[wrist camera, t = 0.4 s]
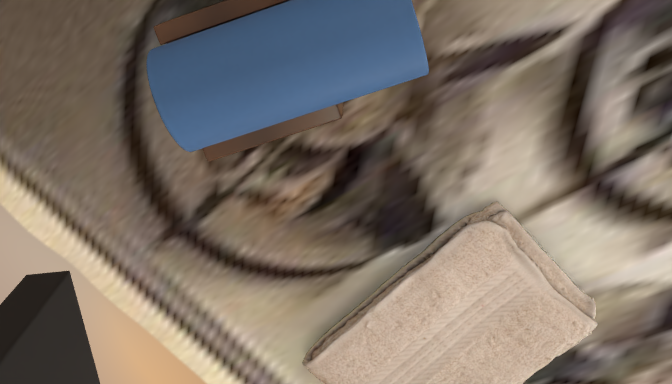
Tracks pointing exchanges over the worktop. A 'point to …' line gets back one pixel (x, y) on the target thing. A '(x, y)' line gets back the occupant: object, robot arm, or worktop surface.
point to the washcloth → (460, 313)
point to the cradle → (235, 6)
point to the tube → (282, 66)
